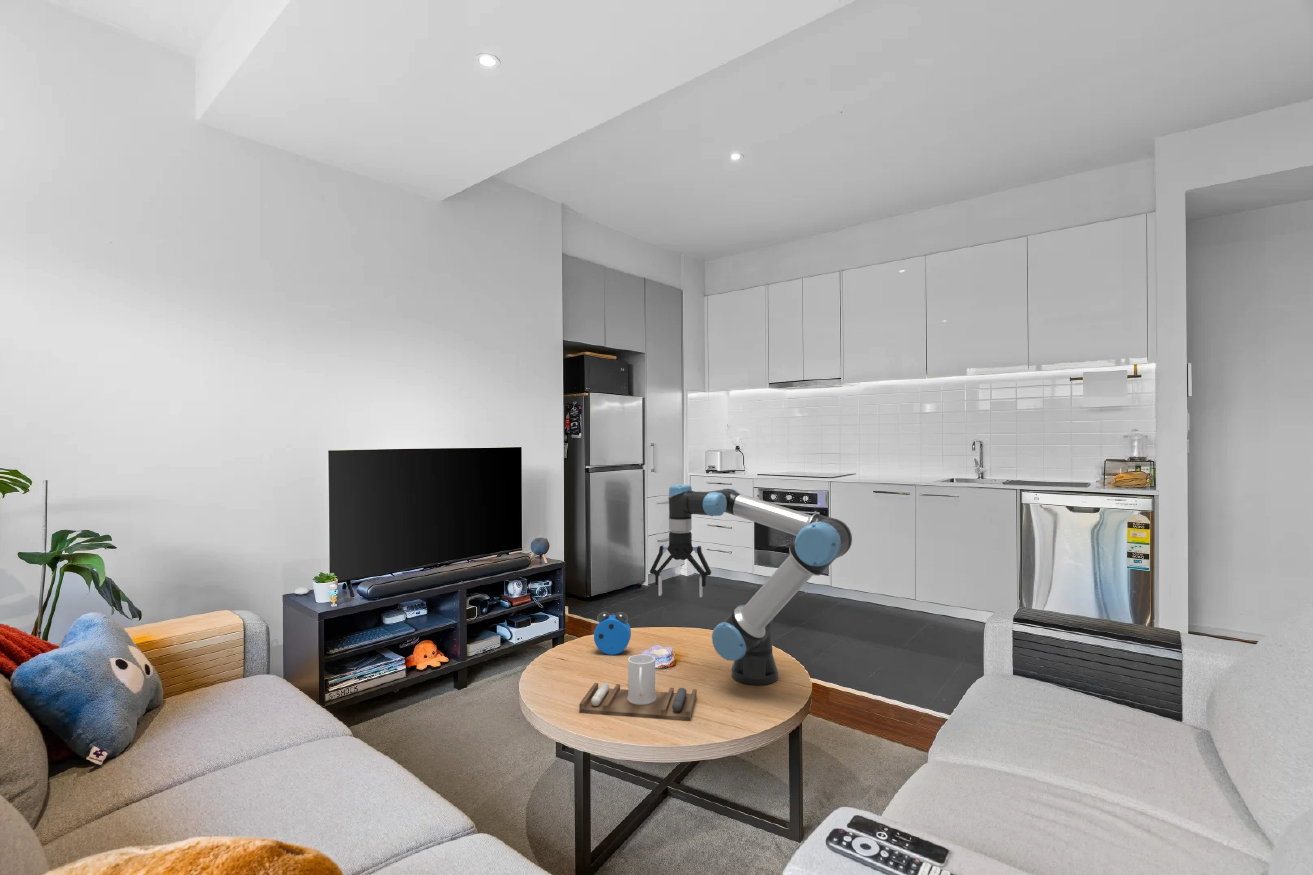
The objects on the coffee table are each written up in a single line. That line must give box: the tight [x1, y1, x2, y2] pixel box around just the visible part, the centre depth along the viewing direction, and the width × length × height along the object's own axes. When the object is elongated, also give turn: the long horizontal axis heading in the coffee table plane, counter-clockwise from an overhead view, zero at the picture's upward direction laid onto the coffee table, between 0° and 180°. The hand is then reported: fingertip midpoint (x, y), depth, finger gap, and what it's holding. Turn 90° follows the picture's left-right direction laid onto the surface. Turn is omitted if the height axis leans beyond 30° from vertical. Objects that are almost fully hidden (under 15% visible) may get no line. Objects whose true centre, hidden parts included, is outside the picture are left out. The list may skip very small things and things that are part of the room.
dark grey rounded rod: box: [672, 687, 688, 712], centre depth 182 cm, size 3×13×3 cm, turn 170°
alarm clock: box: [593, 611, 632, 656], centre depth 230 cm, size 13×6×15 cm, turn 85°
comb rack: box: [578, 682, 698, 722], centre depth 184 cm, size 32×16×2 cm, turn 80°
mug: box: [627, 653, 656, 705], centre depth 184 cm, size 12×8×12 cm
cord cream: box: [591, 682, 610, 706], centre depth 186 cm, size 3×13×3 cm, turn 170°
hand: (680, 595), depth 206 cm, fingers open, 13 cm apart
